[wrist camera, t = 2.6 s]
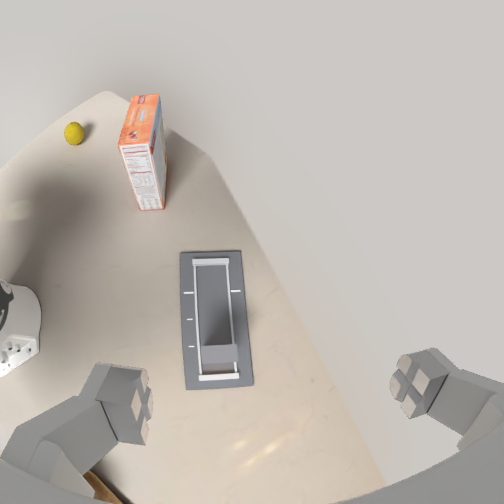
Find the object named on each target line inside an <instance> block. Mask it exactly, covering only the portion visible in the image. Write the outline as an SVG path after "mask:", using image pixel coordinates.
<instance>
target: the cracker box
mask: <svg viewBox="0 0 504 504" xmlns="http://www.w3.org/2000/svg"><path fill="white" fill-rule="evenodd" d="M118 148H119V151H120V154H121V157H122V160H123V163H124V166H125V169H126V172H127V175H128V178H129V181H130V184H131V187H132V189H133V192H134V195H135V198H136V200H137V203H138V206H139V208H140V210H156V209H164V206H165V189H166V174H167V163H168V161H167V153H166V145H165V138H164V129H163V121H162V112H161V101H160V94H152V95H143V96H134V97H132V99H131V102H130V105H129V109H128V112H127V115H126V119H125V122H124V125H123V129H122V132H121V135H120V139H119V143H118Z"/></svg>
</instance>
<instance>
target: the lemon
mask: <svg viewBox="0 0 504 504" xmlns="http://www.w3.org/2000/svg"><path fill="white" fill-rule="evenodd" d="M64 134H65V139H66V141H67V142H68V143H69V144H71V145H77V144H79V143H80V142H81V141H82V140H83V137H84V131H83V128H82V126H81V125H80V124H79V123H77V122H72V123H70V124H68V125H67V127H66V128H65V132H64Z"/></svg>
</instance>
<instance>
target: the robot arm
mask: <svg viewBox="0 0 504 504" xmlns="http://www.w3.org/2000/svg"><path fill="white" fill-rule="evenodd" d="M40 326H41V309H40V304H39V301H38V299H37V297H36V295H35V294H34V292H33V291H32V290H31V289H29V288H28V287H25V286H17V285H12V284H9V283H7V282H6V281H4V280H3V279H2V278H0V377H3V376H5V375H7V374H8V373H9V372H11V371H12V370H14V369H15V368H17V367H18V366H19V365H21V364H22V363H24V362H25V361H27V360H28V359H30V358H31V357H33V356H34V355H36V354H37V353H38V352H39V331H40ZM30 349H31V351H30ZM397 368H398V370H397V371H396V372H395V373H394V374H393V375H392V378H391V381H390V391H391V394H392V396H393V397H394V398H395V399H396V400H398V401H400V402H401V408H402V410H403V411H404V413H405V414H406V415H407V417H408V418H409V419H411V418H415V417H417V416H420V415H423V414H426V413H427V415H429V416H430V417H432V418H434V419H435V420H437V421H439V422H440V423H442V424H444V425H445V426H447V427H449V428H450V429H452V430H454V431H456V432H457V433H459V434H461V435H463V437H462V438H461V440H460V441H459V442H458V444H457V447H458V449H459V450H460V451H459V452H458V453H456V454H454V455H453V456H451V457H449V458H447V459H445V460H444V461H442V462H440V463H438V464H436V465H434V466H432V467H430V468H428V469H426V470H424V471H422V472H420V473H418V474H415V475H414V476H411V477H409V478H406V479H404V480H402V481H399V482H397V483H395V484H392V485H389V486H387V487H384V488H381V489H378V490H376V491H373V492H370V493H367V494H364V495H360V496H357V497H354V498H350V499H347V500H343V501H339V502H336V503H331V504H504V383H501V382H497V381H495V380H492V379H489V378H486V377H483V376H480V375H477V374H475V373H472V372H469V371H466V370H463V369H462V370H459V369H458V368H457V367H456V366H455V365H454V364H453V363H452V362H451V361H450V360H449V359H448V358H447V357H446V356H445V355H443V354H442V353H441V352H440V351H439V350H438V349H436V348H430V349H426V350H423V351H419V352H415V353H410V354H406V355H402V356H401V357H400V358H399V360H398V362H397ZM148 379H149V378H148V374H147V370H146V369H144V368H136V367H129V366H122V365H115V364H114V365H113V364H107V363H101V362H99V363H97V364H96V365H95V366H94V368H93V370H92V372H91V374H90V376H89V377H88V379H87V381H86V383H85V385H84V387H83V389H82V391H81V393H80V394H79V396H73V397H71V398H69V399H67V400H66V401H64V402H62V403H60V404H58V405H57V406H55V407H53V408H51V409H49V410H47V411H46V412H44V413H42V414H40V415H38V416H36V417H34V418H32V419H31V420H29V421H27V422H25V423H23V424H21V425H19V426H17V427H16V429H15V431H14V432H13V434H12V436H11V438H10V440H9V441H8V443H7V445H6V447H5V449H4V451H3V453H2V455H1V457H0V504H112V503H108V502H104V501H101V500H97V499H94V493H95V491H94V490H93V488H92V487H91V486H90V485H89V483H88V482H87V481H86V480H85V479H84V478H83V475H84V474H85V473H86V472H87V471H88V470H90V469H91V468H92V467H93V466H94V465H95V464H96V463H97V462H98V461H99V460H101V459H102V458H103V457H104V456H105V455H106V454H107V453H108V452H109V451H110V450H111V449H113V448H114V447H115V446H116V445H117V444H118V442H123V443H130V444H138V445H146V440H147V435H148V430H149V428H148V425H147V421H148V420H149V419H150V418H151V416H152V411H153V398H152V392H151V389H150V388H149V387H148V386H147V383H148Z"/></svg>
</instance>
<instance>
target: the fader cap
mask: <svg viewBox="0 0 504 504" xmlns="http://www.w3.org/2000/svg"><path fill="white" fill-rule="evenodd" d="M200 348H201V360H202V364H210V363H227V362H238V352H237V344H229V345H212V346H200Z"/></svg>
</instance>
